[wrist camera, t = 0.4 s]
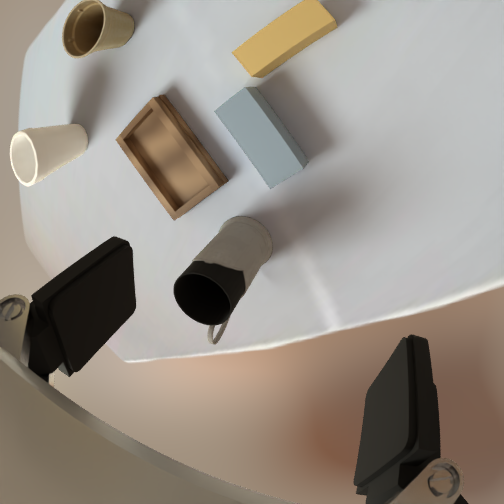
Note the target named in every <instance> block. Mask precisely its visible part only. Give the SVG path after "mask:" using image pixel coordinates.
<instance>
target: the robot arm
mask: <svg viewBox="0 0 504 504" xmlns="http://www.w3.org/2000/svg"><path fill="white" fill-rule="evenodd" d="M32 300H33V302H31V303H29V301H28V299H27V298H26V297H25V296H22V295H16V294H15V295H9V296H7V297H4V298H3V299H1V300H0V504H298V503H294V502H291V501H287V500H283V499H279V498H276V497H272V496H269V495H265V494H262V493H259V492H256V491H252V490H250V489H246V488H244V487H241V486H238V485H235V484H232V483H229V482H226V481H224V480H221V479H219V478H216V477H213V476H211V475H208V474H206V473H204V472H201V471H199V470H196V469H194V468H192V467H189V466H187V465H185V464H183V463H180V462H178V461H176V460H174V459H171V458H170V457H168V456H165V455H163V454H161V453H159V452H157V451H155V450H153V449H151V448H149V447H148V446H146V445H144V444H142V443H140V442H138V441H136V440H134V439H133V438H131V437H129V436H127V435H125V434H124V433H122V432H120V431H118V430H117V429H115V428H113V427H112V426H110V425H109V424H107V423H105V422H104V421H102V420H100V419H99V418H97V417H95V416H94V415H92V414H91V413H89V412H88V411H86V410H85V409H83V408H82V407H80V406H79V405H77V404H76V403H74V402H73V401H71V400H70V399H69V398H67V397H66V396H65V395H63V394H62V393H60V392H59V391H58V390H56V389H55V388H54V371H55V370H56V369H57V368H59V370H60V371H61V372H63V373H64V374H66V375H67V376H68V377H70V376H71V375H72V374H73V373H74V372H78V371H79V370H81V369H82V367H83V366H84V365H85V364H86V363H87V362H88V361H89V360H90V359H91V358H92V357H93V355H94V354H95V353H96V352H97V351H98V350H99V349H100V348H101V347H102V346H103V345H104V344H105V343H106V342H107V341H108V340H109V338H110V337H111V336H112V335H113V334H114V333H115V332H116V331H117V330H118V329H119V328H120V327H121V326H122V325H123V324H124V323H125V322H126V321H127V320H128V319H129V317H130V316H131V315H132V314H133V313H134V311H135V309H136V297H135V284H134V268H133V250H132V247H130V244H129V242H128V241H126V240H124V239H121V238H118V237H114V236H113V237H111V238H110V239H108V240H107V241H105V242H104V243H102V244H101V245H99V246H98V247H97V248H95V249H94V250H92V251H91V252H89V253H88V254H86V255H85V256H84V257H82V258H81V259H79V260H78V261H77V262H75V263H74V264H72V265H71V266H70V267H68V268H67V269H66V270H64V271H63V272H61V273H60V274H59V275H57V276H56V277H55V278H53V279H52V280H51V281H49V282H48V283H47V284H45V285H44V286H43V287H42V288H40V289H39V290H38V291H36V292H35V293H34V294H33V295H32ZM439 426H440V425H439V410H438V397H437V389H436V385H435V384H434V383H433V376H432V368H431V359H430V352H429V345H428V340H427V339H426V338H422V337H419V336H415V335H409V336H408V338H405V337H403V338H402V340H401V341H400V343H399V344H398V346H397V347H396V349H395V351H394V352H393V354H392V355H391V357H390V358H389V360H388V361H387V363H386V364H385V366H384V367H383V369H382V370H381V372H380V373H379V375H378V376H377V378H376V379H375V380H374V382H373V383H372V385H371V386H370V388H369V389H368V392H367V394H366V400H365V409H364V417H363V425H362V433H361V441H360V447H359V454H358V459H357V465H356V471H355V476H354V485H355V486H357V491H356V494H360V495H366V496H367V498H366V504H468V503H467V501H466V500H465V499H464V498H463V497H462V495H461V494H460V493H461V492H462V490H463V485H464V477H463V473H462V471H461V469H460V467H459V466H458V465H457V464H456V463H455V462H454V461H452V460H450V459H447V458H440V427H439Z"/></svg>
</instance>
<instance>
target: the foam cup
mask: <svg viewBox="0 0 504 504" xmlns="http://www.w3.org/2000/svg"><path fill="white" fill-rule="evenodd" d="M87 145H88V138H87V134H86V131H85V129H84V128H83V127H82V126H81V125H79V124H67V125H58V126H49V127H41V128H34V129H33V128H28V129H25V130H22V131H19V132H18V133H16V134H15V135H14V136H13V139H12V141H11V147H10V158H11V164H12V168H13V170H14V173H15V175H16V177H17V178H18V180H19V181H20V182H21V184H23V185H25V186H27V187H28V186H30V185H33V184H35V183H37V182H39V181H41V180H44V178H45V177H46V176H48V175H49V174H51V173H53V172H54V171H56V170H57V169H59V168H61V167H62V166H64V165H66V164H67V163H69V162H71V161H72V160H74V159H76V158H78V157H79V156H81V155H82V154H84V152H85V151H86V150H87Z"/></svg>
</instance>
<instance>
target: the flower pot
mask: <svg viewBox="0 0 504 504" xmlns="http://www.w3.org/2000/svg"><path fill="white" fill-rule="evenodd" d="M133 31H134V21H133V19H132V17H131V16H130V15H129V14H127V13H124V12H121V11H119V10H116V9H113V8H110V7H107V6H106V5H104V4H103V3H102V2H101V1H99V0H83V1H81V2H80V3H78V4H77V5H76V6H75V7H74V8H73V9H72V10H71V12H70V13H69V15H68V17H67V19H66V21H65V24H64V27H63V33H62V41H63V46H64V49H65V51H66V52H67V54H68V55H69V56H71V57H73V58H82V57H85V56H87V55H89V54H90V53H93V52H95V51H100V50H105V49H111V48H118V47H121V46H123V45H125V44H126V42H127V41H128V40H129V39H130V38H131V36H132V34H133Z"/></svg>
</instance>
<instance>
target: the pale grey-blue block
mask: <svg viewBox="0 0 504 504" xmlns="http://www.w3.org/2000/svg"><path fill="white" fill-rule="evenodd" d="M214 112H215V113H216V114H217V116H218V117H219V118H220V120H221V121H222V123H223V124H224V125H225V127H226V128H227V129H228V131H229V132H230V133H231V135H232V136H233V137H234V139H235V140H236V142H237V143H238V144H239V146H240V147H241V148H242V150H243V151H244V153H245V154H246V155H247V157H248V158H249V160H250V161H251V162H252V164H253V165H254V167H255V168H256V169H257V171H258V172H259V174H260V175H261V177H262V178H263V179H264V181H265V182H266V184H267V185H268V187H269V188H270V189H271V188H273V187H275V186H276V185H278V184H279V183H281V182H283V181H284V180H286V179H288V178H289V177H291V176H292V175H294V174H296V173H297V172H299V171H301V170H302V169H304V167H305V166H306V165H307V163H308V162H309V161H308V159H307V158H306V156H305V155H304V153H303V152H302V150H301V149H300V147H299V146H298V145H297V143H296V142H295V140H294V139H293V137H292V136H291V135H290V133H289V132H288V130H287V129H286V127H285V126H284V125H283V123H282V122H281V120H280V119H279V118H278V116H277V115H276V114H275V112H274V111H273V110H272V108H271V107H270V105H269V104H268V103H267V101H266V100H265V99H264V97H263V96H262V95H261V93H260V92H259V91H258V90H257V88H256V87H244V88H243V89H242V90H240V91H239V92H238V93H236V94H235V95H234V96H233V97H231V98H230V99H229V100H228V101H226V102H225V103H224V104H223V105H221V106H220V107H219V108H218V109H216V110H215V111H214Z"/></svg>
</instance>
